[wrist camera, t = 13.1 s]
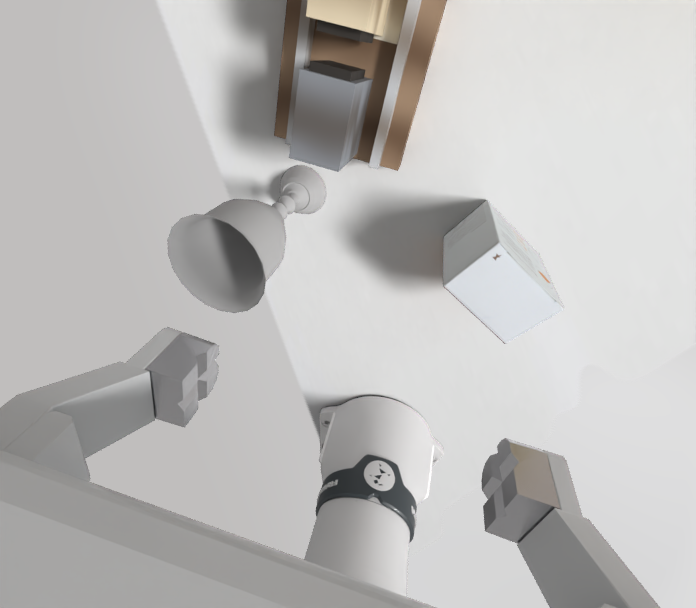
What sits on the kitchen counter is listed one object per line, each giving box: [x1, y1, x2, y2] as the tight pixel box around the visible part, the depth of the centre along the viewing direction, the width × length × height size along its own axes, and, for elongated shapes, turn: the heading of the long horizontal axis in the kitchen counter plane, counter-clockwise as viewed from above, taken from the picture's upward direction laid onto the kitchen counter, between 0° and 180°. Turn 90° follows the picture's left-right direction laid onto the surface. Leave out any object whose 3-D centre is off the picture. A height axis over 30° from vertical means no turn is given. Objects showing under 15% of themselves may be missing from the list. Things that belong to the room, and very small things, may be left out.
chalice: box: [168, 165, 326, 313], centre depth 33 cm, size 7×7×18 cm
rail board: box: [274, 0, 447, 172], centre depth 29 cm, size 18×12×9 cm, turn 168°
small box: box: [443, 200, 564, 344], centre depth 35 cm, size 8×6×10 cm
